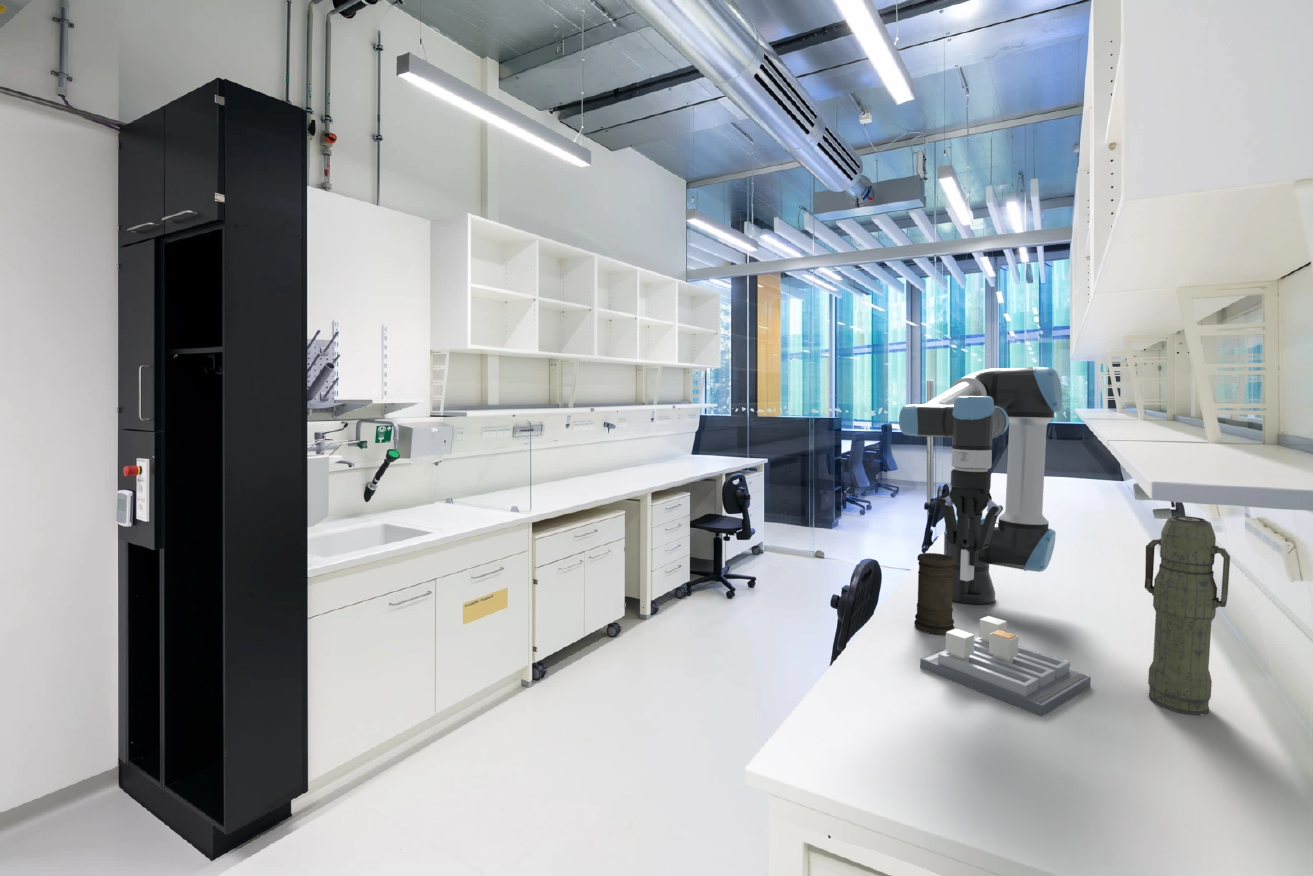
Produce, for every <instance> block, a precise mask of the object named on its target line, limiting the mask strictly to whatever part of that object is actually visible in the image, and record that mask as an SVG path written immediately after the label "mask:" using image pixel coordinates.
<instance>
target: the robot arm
mask: <svg viewBox="0 0 1313 876" xmlns="http://www.w3.org/2000/svg"><path fill="white" fill-rule="evenodd" d="M1059 376H1060V375H1059V374H1058V372H1057V371H1056V370H1055V369H1054V368H1053V367H1047V366H1045V367H1043V366H1042V367H1041V366H1033V367H1031V366H1030V367H1006V368H1005V367H1003V368H999V367H997V368H996V367H994V368H987V369H982V370H978V371H975V372H973V373H969V374H967V375H963V377H960V378H959V379H957V380H955V381H954V382H953V383H952V384H951V385H950V387H949V389H947V390H945V391H943V392H942V393H940V394H938V395H936V396H935V397H933V398H932V399H930V400H928V401H926V402H924V403H922V404H918V403H913V404H905V405H903V406H902V407H901V409H900V411H899V415H898V416H899V417H898V425H899V429H900V431H901V433H902V434H903V435H904V436H915V437H917V438H918V437H930V438H931V437H932V438H933V437H934V438H935V437H936V438H952V440H951V441H952V443H951V444H952V445H951V467H953V468H954V469H952V470H951V471H950V486H951V488H950V491H949V493H948V495H947V496H946V497H944V498H943V497H942V498H939V499H938V504H939V506H940V507H941V509H942V514H943V520H944V532H943V535H944V537H943V538H944V539H943V540H944V541H943V543H944V544H943V554H944V555H948V556H951V557H953V558H954V560H955V563H954V564H953V566H954V567H953V590H952V602H954V603H961V604H969V605H987V604H988V605H989V604H992V603H994V602H995V600H996V590H995V587H994V584H993V580H992V577H991V574H990V565H994V566H1000V567H1007V568H1011V569H1015V570H1016V569H1018V570H1021V571H1022V570H1023V572H1027V571H1030V572H1037V573H1039V572H1040V573H1041V572H1044V571H1045V570H1046V569H1047V568H1048V566H1049V564H1050V562H1051V560H1052V557H1053V553H1054V549H1055V543H1056V531H1055V530H1054V529H1053V528H1049V520H1048V519H1047V518H1046V517H1044V514H1043V510H1044V509H1043V507H1044V504H1043V503H1044V486H1045V485H1044V484H1045V466H1046V447H1047V445H1046V444H1047V443H1046V442H1047V426H1048V424H1049V423H1050V422H1052V421H1054V418H1055V413H1059V412H1060V411H1062V408H1063V392H1062V384H1061V379H1060V377H1059ZM1008 427H1009V428H1008ZM1007 429H1008V445H1007V446H1008V447H1007V448H1008V449H1007V467H1006V485H1005V486H1006V489H1005V509H1004V507H1003V505H998V504H997V503H995V501H993V498H992V495H991V492H990V490H991V486H992V485H991V484H992V483H991V482H992V473H991V471H990V469H991V468H992V466H993V465H992V463H993V461H992V460H993V459H992V457H993V455H992V454H993V453H992V452H993V440H994V439H997V438H999V437H1000V436H1002V435H1003V434H1004V433H1005V432H1006V431H1007ZM953 505H954V506H955V508H956V509H954V506H953ZM985 509H986V511H987V513H986V514H985V515H984V514H983V511H984V510H985ZM955 511H956V512H955ZM1002 511H1004V512H1003V513H1002ZM1001 513H1002V514H1001ZM1000 514H1001V515H1000ZM997 519H998V522H997Z"/></svg>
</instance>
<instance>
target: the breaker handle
mask: <svg viewBox="0 0 1313 876" xmlns="http://www.w3.org/2000/svg"><path fill="white" fill-rule="evenodd" d="M1019 638H1020V637H1019V635H1017V634H1014V633H1011V632H1008V631H1007V632H1005V631H1001V630H997V631H995V632H993V633H990V634H989V653H991V654H993V657H994V658H997V659H1000V660H1003V661H1006V662H1009V663H1012V664H1013V657H1016V656H1018V646H1019Z"/></svg>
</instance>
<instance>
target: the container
mask: <svg viewBox="0 0 1313 876" xmlns="http://www.w3.org/2000/svg"><path fill="white" fill-rule="evenodd" d="M917 561H918V563H917V564H918V570H917V573H918V575H917V576H918V577H917V578H918V579H917V602H916V614H915V615H914V618H915V620H914V623H913V624H914V627H915V628H916V629H917V630H919V631H921V632H923V633H926V634H931V635H936V636H937V635H938V636H946V632H948V631H950V630H953V629H956V627H955V625H954V624H955V621H954V618H953V611H954V610H953V609H954V608H953V601H952V590H953V567H954V566H953V564H954V563H955V560H954V558H953V557H951V556H948V555H944V553H936V552H924V553H920V554H918V555H917Z"/></svg>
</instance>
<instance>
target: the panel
mask: <svg viewBox="0 0 1313 876" xmlns="http://www.w3.org/2000/svg"><path fill="white" fill-rule="evenodd" d="M978 625H979V628H978V629H979V630H978V631H979V632H978V637H976V638H975V636H976V635H975V634H973V633H971V632H967V631H966V630H963V629H959V628H955V629H953V630H950V631H948V632H946V635H945V648H942V649H941V650H937V651H935V652H933V653H930V654H928V655H925V656H923V657H921V658H920V659H919V668H920V669H922V670H925V671H927V672H929V673H932V674H935V675H937V676H939V677H942V678H945V679H948V680H950V681H952V682H955V683H958V684H959V685H963V686H965V687H967V688H970V689H972V690H975V691H977V692H979V693H983V694H985V695H988V696H990V697H992V698H995V699H997V700H1000V701H1003V702H1004V703H1005V702H1006V703H1007V704H1010V705H1012V706H1015V707H1017V708H1020V709H1022V710H1026V711H1028V712H1030V713H1033V714H1035V715H1037V716H1040V717H1043V716H1046V715H1047V714H1048V713H1050V712H1052V711H1053V710H1055V709H1056V708H1059V707H1060V706H1061V705H1063V704H1064V703H1066V702H1068V701H1070V700H1072V698H1074V697H1076V696H1078V695H1079V694H1081V693H1083V692H1084V691H1086V690H1088V689H1089V688H1090V687H1091V681H1092V677H1091V676H1089V675H1087V674H1083V673H1080V672H1078V671H1074V670H1071V669H1070V667H1071V664H1070V663H1071V662H1070V661H1068V660H1064V659H1061V658H1058V657H1055V656H1053V655H1049V654H1045V653H1042V652H1040V651H1037V650H1034V649H1030V648H1028V647H1024V646H1020V645H1018V656H1016V657H1013V664H1012V663H1009V662H1006V661H1003V660H1000V659H997V658H994V657H993V654H991V653H989V634H990V633H993V632H995V631H997V630H1001V631H1005V632H1008V630H1007V628H1008V621H1007V620H1004V619H1000V618H996V617H994V616H990V615H987V616H984V617H982V618H980V619H979V624H978Z"/></svg>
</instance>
